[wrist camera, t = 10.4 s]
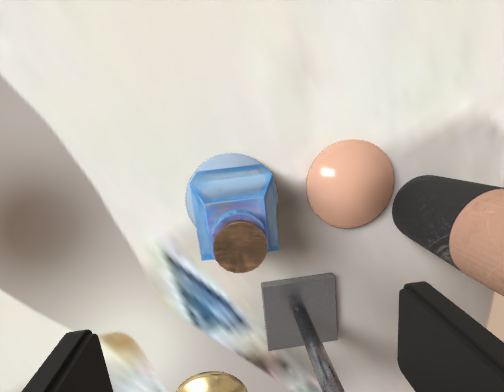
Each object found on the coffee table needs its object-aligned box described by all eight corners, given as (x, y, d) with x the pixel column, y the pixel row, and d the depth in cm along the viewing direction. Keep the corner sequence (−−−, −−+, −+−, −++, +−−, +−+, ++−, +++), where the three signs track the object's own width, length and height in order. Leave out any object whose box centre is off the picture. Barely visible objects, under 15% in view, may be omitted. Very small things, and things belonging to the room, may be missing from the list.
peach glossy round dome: (301, 144, 29) (304, 144, 28) (388, 134, 30) (394, 135, 29) (306, 229, 31) (310, 233, 30) (387, 218, 32) (393, 222, 31)
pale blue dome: (180, 157, 28) (178, 159, 27) (272, 147, 29) (274, 148, 28) (194, 244, 30) (192, 248, 29) (279, 233, 31) (281, 237, 30)
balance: (182, 294, 31) (131, 499, 14) (404, 262, 33) (605, 409, 16) (193, 356, 33) (160, 605, 16) (403, 322, 35) (581, 514, 18)
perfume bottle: (206, 233, 29) (194, 303, 17) (196, 171, 28) (177, 203, 16) (267, 225, 29) (297, 288, 18) (261, 163, 28) (289, 189, 16)
